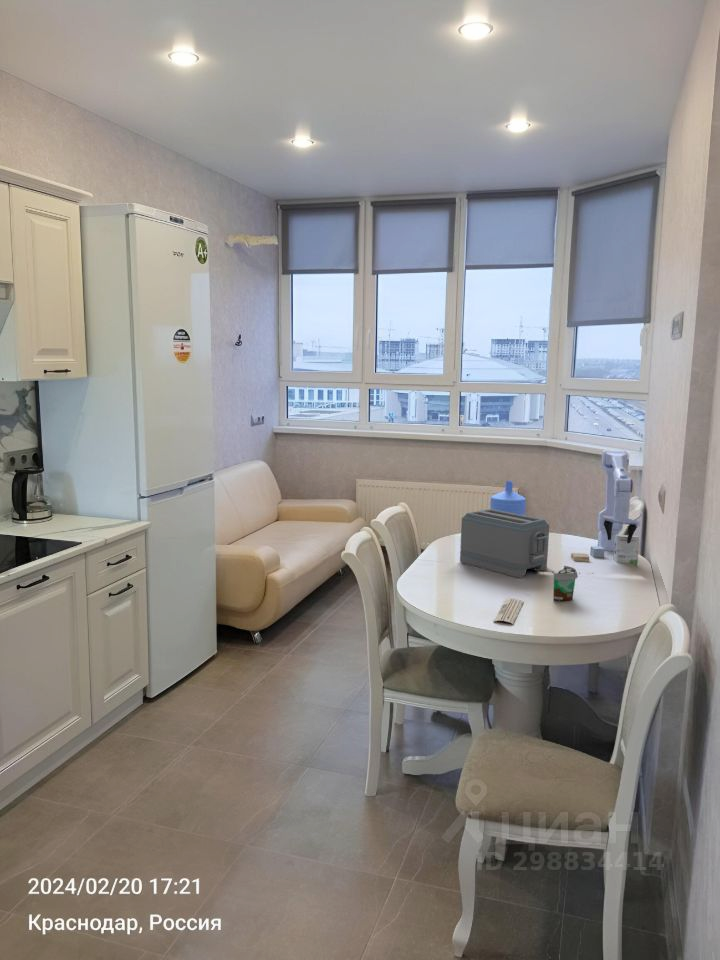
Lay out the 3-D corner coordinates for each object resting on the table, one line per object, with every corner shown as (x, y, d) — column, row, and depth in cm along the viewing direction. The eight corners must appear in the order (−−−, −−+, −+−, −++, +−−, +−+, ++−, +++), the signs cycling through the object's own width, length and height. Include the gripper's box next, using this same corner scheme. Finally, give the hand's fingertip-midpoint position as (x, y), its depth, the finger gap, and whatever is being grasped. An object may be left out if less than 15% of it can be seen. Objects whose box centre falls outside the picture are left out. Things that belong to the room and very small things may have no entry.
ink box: (615, 565, 293) (617, 536, 292) (612, 562, 298) (614, 534, 297) (637, 566, 292) (639, 537, 291) (634, 563, 297) (636, 535, 296)
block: (589, 557, 305) (590, 546, 304) (600, 558, 305) (601, 546, 304) (593, 560, 301) (594, 548, 300) (603, 560, 301) (604, 548, 300)
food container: (570, 605, 242) (572, 576, 240) (552, 602, 245) (553, 573, 243) (580, 596, 252) (582, 568, 251) (562, 592, 255) (564, 565, 254)
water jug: (527, 547, 320) (530, 484, 316) (491, 546, 320) (494, 484, 316) (519, 539, 335) (523, 479, 331) (485, 538, 335) (488, 478, 331)
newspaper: (513, 627, 222) (513, 621, 221) (489, 624, 224) (490, 618, 224) (523, 604, 244) (523, 599, 243) (502, 602, 246) (502, 597, 246)
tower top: (571, 557, 300) (571, 552, 300) (586, 557, 299) (586, 553, 299) (573, 561, 294) (573, 556, 294) (588, 561, 293) (589, 556, 293)
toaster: (527, 581, 269) (530, 527, 266) (458, 562, 293) (460, 512, 290) (555, 572, 281) (559, 521, 278) (487, 555, 306) (489, 507, 302)
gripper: (600, 507, 291) (597, 540, 294) (637, 511, 283) (634, 545, 285) (605, 504, 297) (603, 537, 299) (642, 509, 289) (639, 542, 291)
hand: (619, 541), depth 293 cm, fingers open, 7 cm apart
